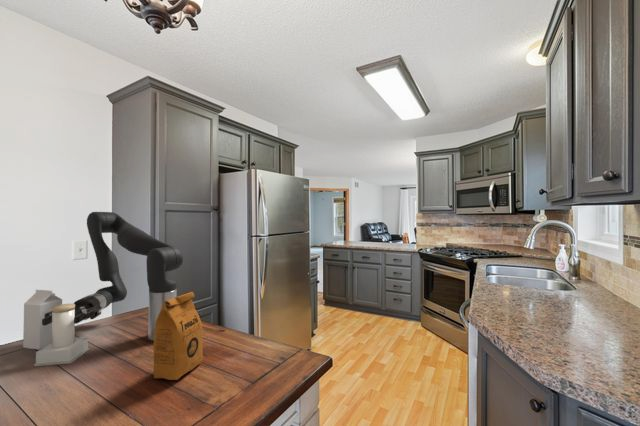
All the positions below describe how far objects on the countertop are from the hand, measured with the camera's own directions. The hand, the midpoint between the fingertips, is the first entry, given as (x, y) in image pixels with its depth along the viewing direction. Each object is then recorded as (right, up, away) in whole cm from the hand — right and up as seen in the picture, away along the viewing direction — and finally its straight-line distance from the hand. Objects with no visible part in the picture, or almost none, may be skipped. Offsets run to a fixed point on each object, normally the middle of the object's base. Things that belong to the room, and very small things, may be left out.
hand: (59, 321), depth 91 cm
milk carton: (-16, -12, +11) cm, 23 cm away
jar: (0, -8, +2) cm, 8 cm away
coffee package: (+41, -12, -6) cm, 43 cm away
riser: (0, -12, +2) cm, 12 cm away
